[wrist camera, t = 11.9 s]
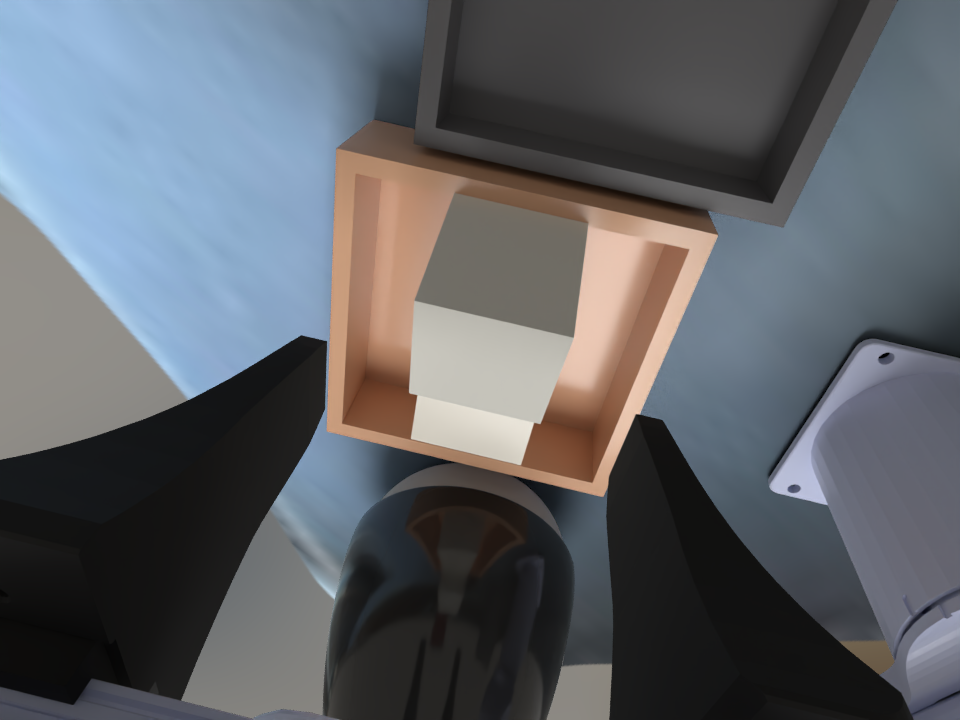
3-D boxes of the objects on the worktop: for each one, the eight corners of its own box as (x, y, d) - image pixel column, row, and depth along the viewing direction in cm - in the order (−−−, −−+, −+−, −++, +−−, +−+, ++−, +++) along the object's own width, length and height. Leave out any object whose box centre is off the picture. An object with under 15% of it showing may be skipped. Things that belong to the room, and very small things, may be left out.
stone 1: (588, 223, 17) (573, 338, 15) (557, 315, 20) (540, 424, 18) (454, 192, 17) (414, 300, 15) (443, 289, 21) (408, 393, 18)
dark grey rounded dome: (492, 594, 34) (437, 961, 22) (340, 500, 32) (179, 857, 19) (623, 512, 29) (649, 934, 17) (454, 390, 26) (332, 785, 14)
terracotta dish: (699, 193, 20) (718, 234, 17) (601, 436, 26) (603, 497, 23) (373, 119, 20) (336, 148, 17) (355, 378, 27) (326, 431, 24)
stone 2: (555, 307, 22) (548, 377, 19) (530, 388, 25) (520, 465, 21) (451, 282, 23) (424, 347, 19) (437, 366, 25) (410, 439, 21)
